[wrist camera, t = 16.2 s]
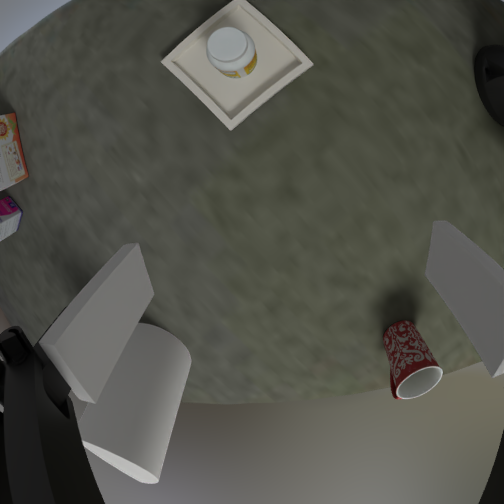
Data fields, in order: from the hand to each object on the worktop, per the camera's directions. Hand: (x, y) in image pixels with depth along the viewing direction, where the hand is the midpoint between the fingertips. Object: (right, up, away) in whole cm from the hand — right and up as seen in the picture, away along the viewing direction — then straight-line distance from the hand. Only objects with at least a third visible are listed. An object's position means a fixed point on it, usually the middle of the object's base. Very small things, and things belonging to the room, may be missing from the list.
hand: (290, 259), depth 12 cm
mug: (+28, -17, +39) cm, 51 cm away
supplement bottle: (-3, +25, +19) cm, 32 cm away
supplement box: (-52, +9, +32) cm, 62 cm away
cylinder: (-23, -21, +45) cm, 55 cm away
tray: (-4, +25, +20) cm, 32 cm away
